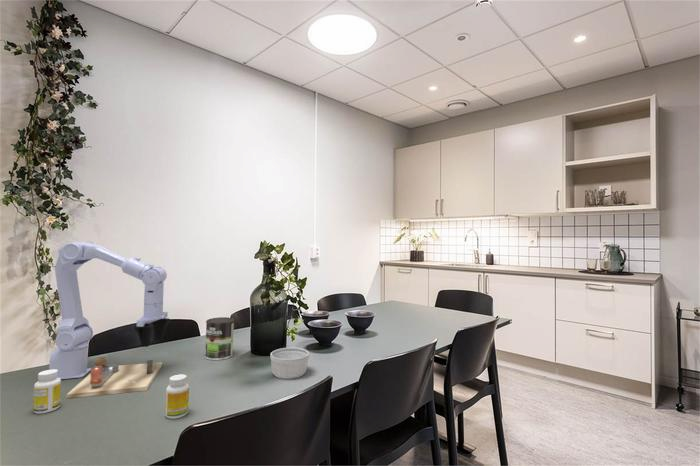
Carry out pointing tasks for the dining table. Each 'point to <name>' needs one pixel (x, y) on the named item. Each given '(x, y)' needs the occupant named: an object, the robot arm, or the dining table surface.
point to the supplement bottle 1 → (47, 392)
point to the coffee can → (219, 338)
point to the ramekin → (289, 362)
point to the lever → (102, 374)
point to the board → (119, 380)
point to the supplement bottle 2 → (177, 397)
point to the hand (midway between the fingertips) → (152, 343)
